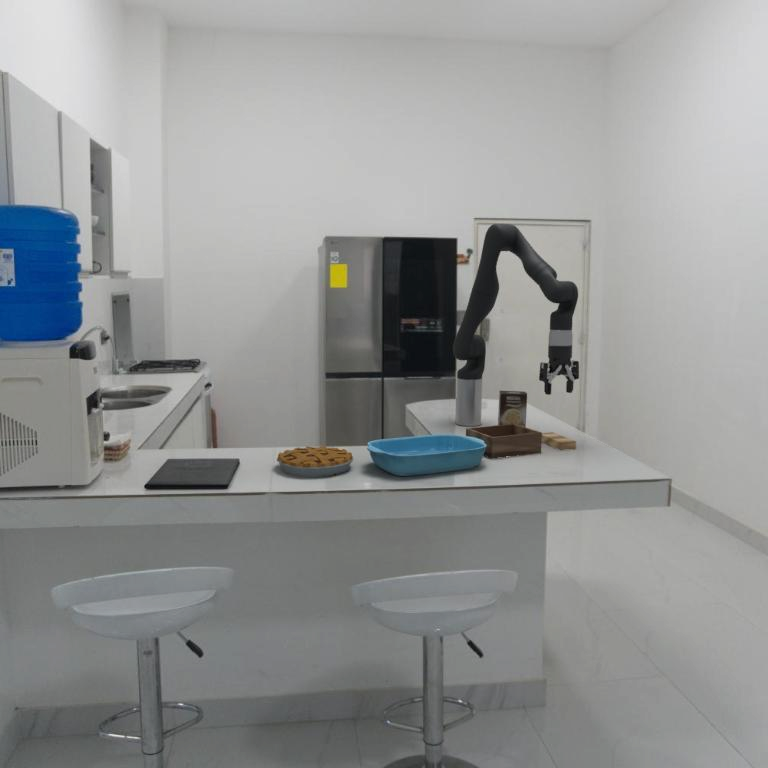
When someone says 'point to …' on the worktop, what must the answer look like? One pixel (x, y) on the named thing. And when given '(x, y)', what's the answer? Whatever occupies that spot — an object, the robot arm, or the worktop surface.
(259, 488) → the worktop surface
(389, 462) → the casserole dish
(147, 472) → the worktop surface
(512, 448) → the wooden box
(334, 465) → the pie
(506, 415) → the coffee box
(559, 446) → the tan flat block
